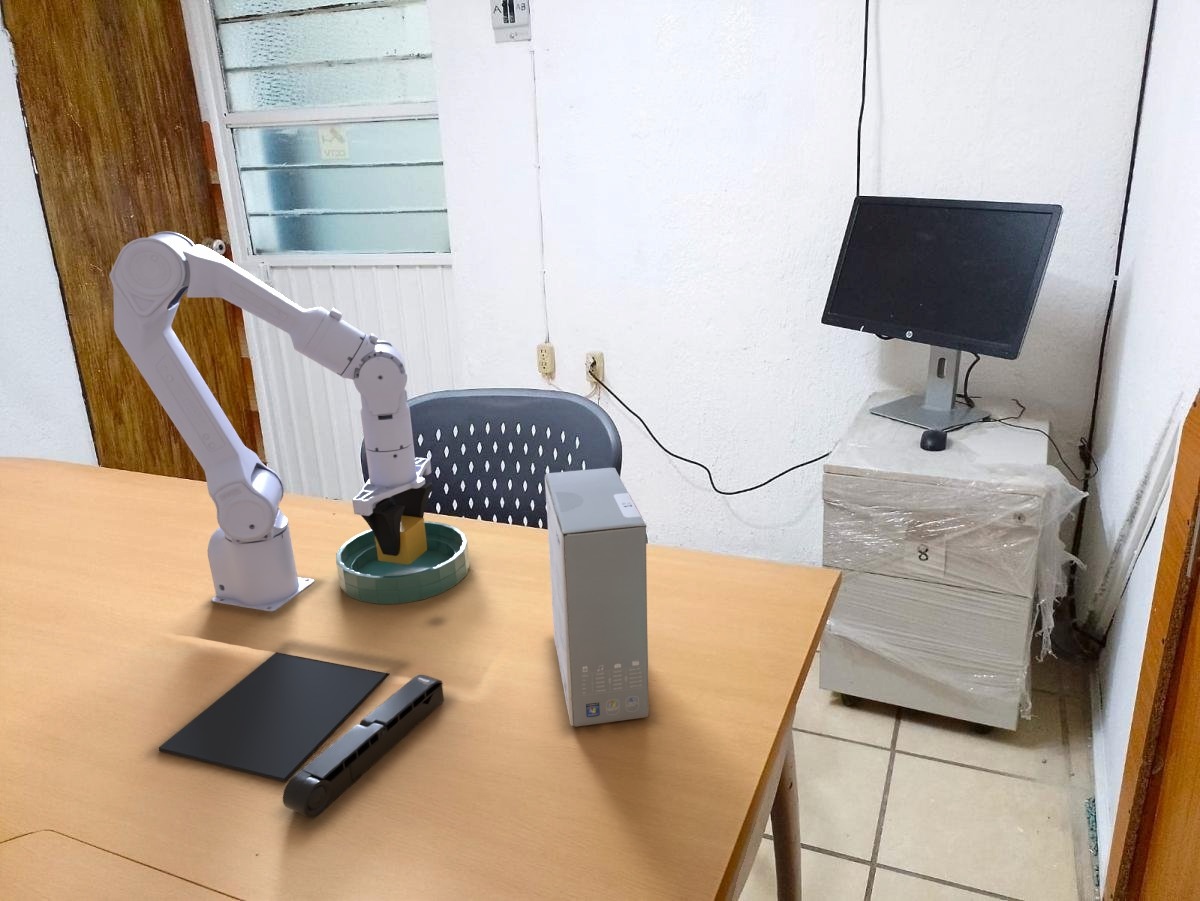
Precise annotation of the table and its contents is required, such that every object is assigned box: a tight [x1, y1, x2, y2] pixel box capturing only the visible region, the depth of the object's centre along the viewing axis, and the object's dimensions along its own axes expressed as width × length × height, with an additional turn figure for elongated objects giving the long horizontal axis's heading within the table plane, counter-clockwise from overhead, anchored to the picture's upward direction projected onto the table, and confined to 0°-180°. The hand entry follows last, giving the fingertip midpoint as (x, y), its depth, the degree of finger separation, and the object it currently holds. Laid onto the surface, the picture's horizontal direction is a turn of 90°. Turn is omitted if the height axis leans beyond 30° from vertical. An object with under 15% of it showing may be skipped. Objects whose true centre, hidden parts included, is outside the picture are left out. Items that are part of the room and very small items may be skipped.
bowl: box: [335, 520, 471, 605], centre depth 106 cm, size 16×16×4 cm
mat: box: [158, 651, 390, 783], centre depth 82 cm, size 14×18×1 cm
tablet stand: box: [282, 674, 445, 818], centre depth 74 cm, size 18×3×3 cm, turn 152°
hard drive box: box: [544, 467, 649, 728], centre depth 81 cm, size 16×8×20 cm, turn 9°
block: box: [375, 516, 427, 565], centre depth 105 cm, size 4×4×4 cm
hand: (401, 545), depth 105 cm, fingers closed on block, 4 cm apart
